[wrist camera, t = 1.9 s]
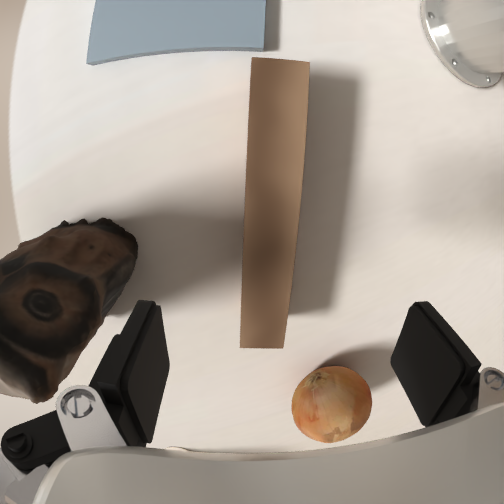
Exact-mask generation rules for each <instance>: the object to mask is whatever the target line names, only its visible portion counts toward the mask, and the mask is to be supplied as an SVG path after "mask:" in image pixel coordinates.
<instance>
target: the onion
mask: <svg viewBox="0 0 504 504" xmlns="http://www.w3.org/2000/svg"><path fill="white" fill-rule="evenodd" d="M371 407H372V397H371V391H370V389H369V386H368V384H367V383H366V381H365V380H364V379H363V378H362V377H361V376H360V375H359V374H358V373H356V372H355V371H353V370H351V369H349V368H346V367H341V366H330V367H323V368H320V369H317V370H315V371H313V372H311V373H310V374H308V375H307V376H306V377H305V378H304V379H303V380H302V381H301V382H300V384H299V385H298V386H297V388H296V390H295V392H294V395H293V398H292V414H293V418H294V421H295V424H296V425H297V427H298V428H299V430H300V431H301V432H302V433H303V434H305V435H306V436H308V437H309V438H311V439H314V440H316V441H320V442H324V443H333V442H338V441H342V440H344V439H346V438H348V437H350V436H352V435H353V434H355V433H357V432H358V431H359V430H360V429H361V428H362V427H363V426H364V424H365V423H366V422H367V420H368V418H369V416H370V413H371Z"/></svg>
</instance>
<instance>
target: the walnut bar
mask: <svg viewBox="0 0 504 504" xmlns="http://www.w3.org/2000/svg"><path fill="white" fill-rule="evenodd" d="M309 68H310V62H304V61H295V60H285V59H273V58H258V57H252V62H251V78H250V98H249V119H248V141H247V163H246V187H245V211H244V237H243V265H242V294H241V326H240V348H283V346H284V339H285V332H286V325H287V318H288V310H289V303H290V295H291V287H292V279H293V270H294V262H295V253H296V244H297V234H298V225H299V215H300V204H301V193H302V181H303V169H304V156H305V142H306V127H307V111H308V91H309Z"/></svg>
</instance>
